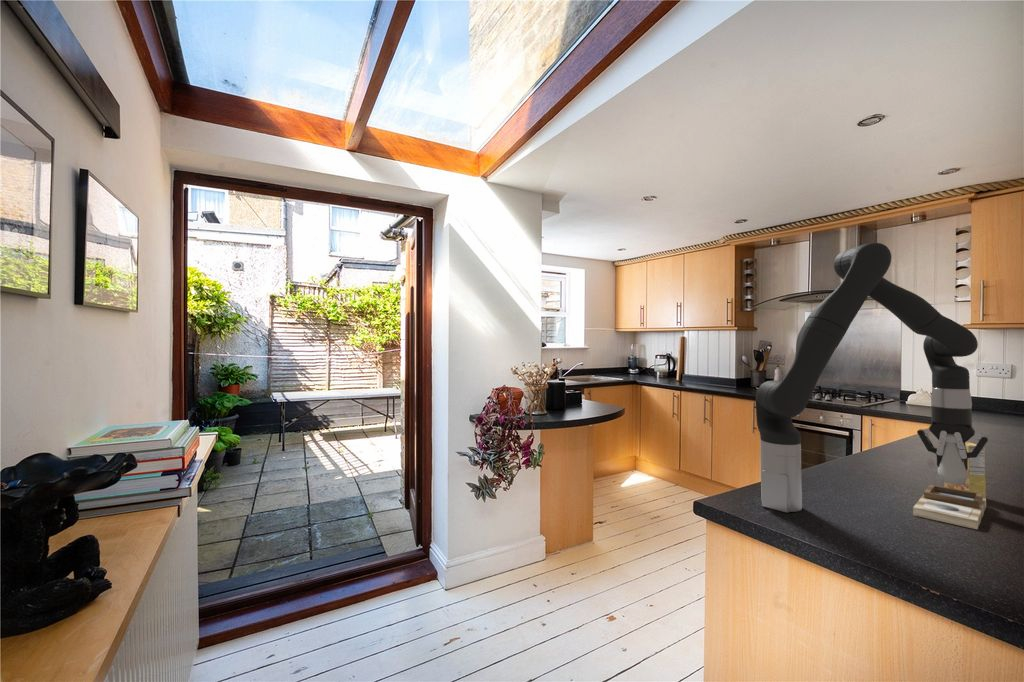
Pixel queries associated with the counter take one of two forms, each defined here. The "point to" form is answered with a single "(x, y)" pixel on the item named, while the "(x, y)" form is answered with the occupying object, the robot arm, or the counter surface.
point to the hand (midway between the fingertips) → (952, 470)
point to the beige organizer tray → (951, 506)
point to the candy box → (973, 473)
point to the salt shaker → (952, 463)
